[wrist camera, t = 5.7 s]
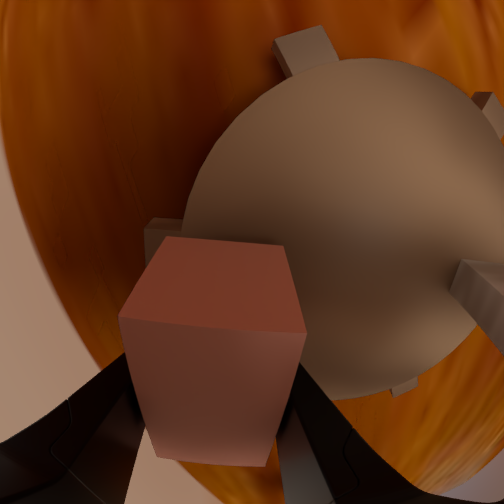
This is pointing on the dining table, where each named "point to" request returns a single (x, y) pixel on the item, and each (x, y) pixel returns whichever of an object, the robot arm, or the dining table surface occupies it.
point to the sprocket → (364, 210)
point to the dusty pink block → (213, 348)
